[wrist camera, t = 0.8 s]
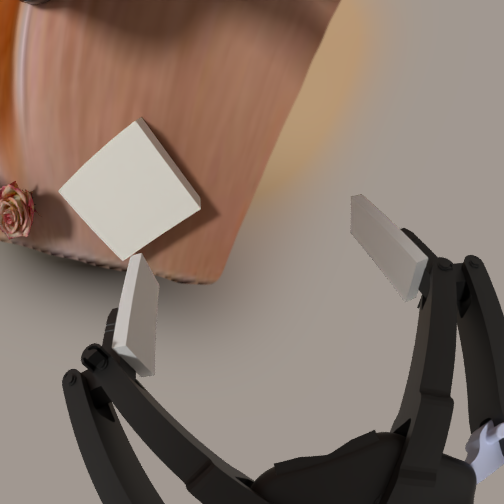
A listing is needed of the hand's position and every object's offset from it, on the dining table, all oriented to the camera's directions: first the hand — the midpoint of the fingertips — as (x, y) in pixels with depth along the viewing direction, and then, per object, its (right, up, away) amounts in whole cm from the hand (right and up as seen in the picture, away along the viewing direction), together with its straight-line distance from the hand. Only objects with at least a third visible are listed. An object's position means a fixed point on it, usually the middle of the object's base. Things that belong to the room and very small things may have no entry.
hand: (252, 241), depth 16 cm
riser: (-19, +9, +22) cm, 31 cm away
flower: (-39, +9, +18) cm, 44 cm away
